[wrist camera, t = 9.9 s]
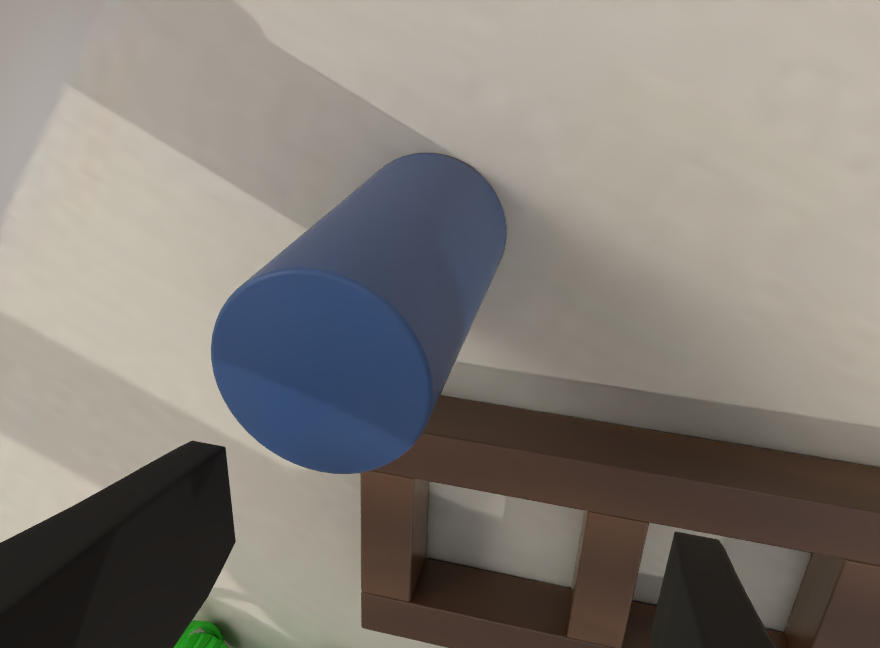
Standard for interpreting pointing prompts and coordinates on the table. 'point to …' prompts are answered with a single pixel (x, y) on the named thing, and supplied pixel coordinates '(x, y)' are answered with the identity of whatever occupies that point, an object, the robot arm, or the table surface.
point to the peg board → (610, 529)
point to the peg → (362, 317)
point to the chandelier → (201, 636)
